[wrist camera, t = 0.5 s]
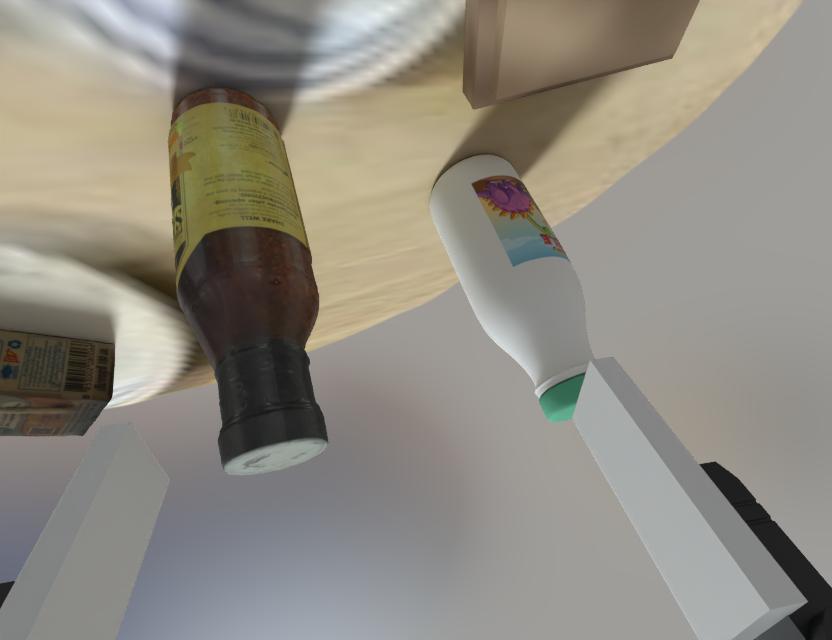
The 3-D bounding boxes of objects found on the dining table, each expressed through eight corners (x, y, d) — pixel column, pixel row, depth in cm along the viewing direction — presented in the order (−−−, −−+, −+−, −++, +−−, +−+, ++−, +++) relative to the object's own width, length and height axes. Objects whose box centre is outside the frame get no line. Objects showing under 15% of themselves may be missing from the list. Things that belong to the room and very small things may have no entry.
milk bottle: (458, 234, 40) (552, 434, 31) (408, 199, 34) (504, 433, 25) (527, 181, 37) (656, 388, 27) (484, 132, 31) (630, 373, 21)
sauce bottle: (142, 95, 22) (131, 470, 13) (259, 68, 23) (331, 408, 13) (204, 188, 28) (228, 495, 18) (296, 165, 28) (365, 450, 19)
